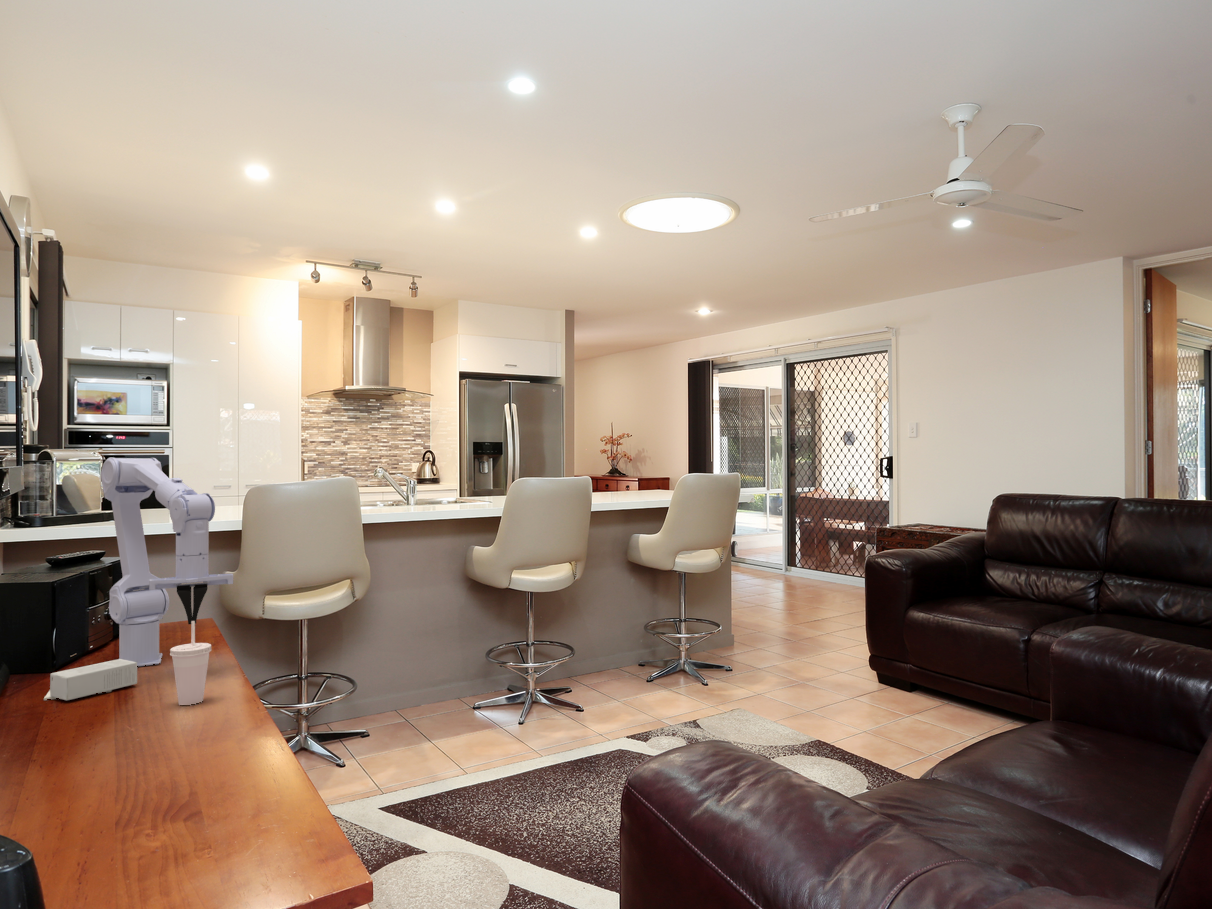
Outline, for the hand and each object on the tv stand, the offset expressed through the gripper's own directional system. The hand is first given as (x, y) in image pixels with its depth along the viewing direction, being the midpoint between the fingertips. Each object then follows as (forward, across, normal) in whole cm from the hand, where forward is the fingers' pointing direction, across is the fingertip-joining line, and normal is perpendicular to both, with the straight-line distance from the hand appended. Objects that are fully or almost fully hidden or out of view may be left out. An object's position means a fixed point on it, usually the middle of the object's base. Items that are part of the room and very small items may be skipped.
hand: (192, 623), depth 147 cm
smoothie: (+11, 0, -20) cm, 23 cm away
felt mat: (+10, -18, +1) cm, 21 cm away
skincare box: (+8, -10, 0) cm, 13 cm away
